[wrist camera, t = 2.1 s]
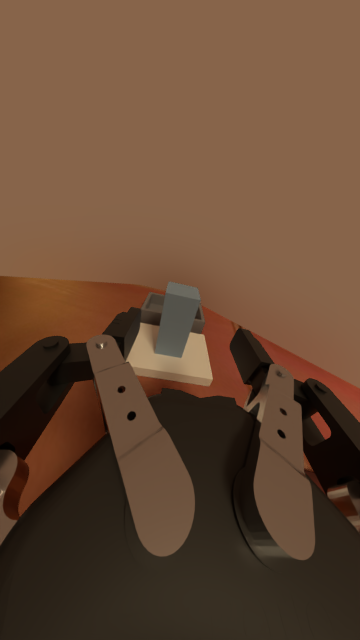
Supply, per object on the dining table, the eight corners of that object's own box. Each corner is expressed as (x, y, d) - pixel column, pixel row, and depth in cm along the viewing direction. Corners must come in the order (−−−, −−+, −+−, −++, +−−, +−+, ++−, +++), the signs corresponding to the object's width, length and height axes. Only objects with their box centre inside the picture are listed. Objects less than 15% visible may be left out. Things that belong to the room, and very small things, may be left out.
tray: (139, 322, 35) (140, 309, 33) (148, 303, 45) (149, 291, 43) (200, 334, 37) (205, 322, 35) (196, 313, 46) (200, 303, 44)
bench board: (116, 371, 23) (116, 363, 22) (136, 328, 33) (137, 321, 32) (209, 386, 25) (212, 379, 24) (201, 341, 35) (204, 334, 34)
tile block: (154, 353, 26) (165, 292, 19) (158, 336, 30) (168, 281, 23) (181, 358, 26) (200, 300, 20) (181, 340, 30) (197, 288, 24)
